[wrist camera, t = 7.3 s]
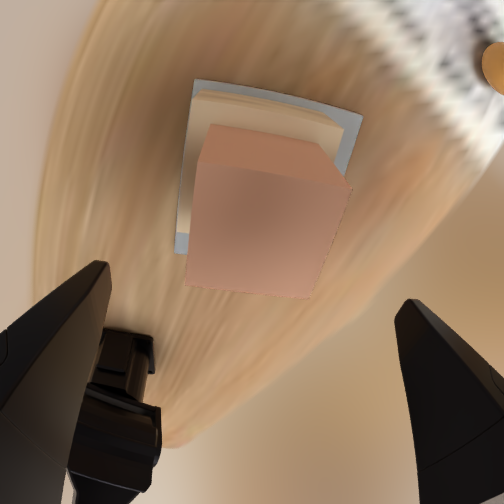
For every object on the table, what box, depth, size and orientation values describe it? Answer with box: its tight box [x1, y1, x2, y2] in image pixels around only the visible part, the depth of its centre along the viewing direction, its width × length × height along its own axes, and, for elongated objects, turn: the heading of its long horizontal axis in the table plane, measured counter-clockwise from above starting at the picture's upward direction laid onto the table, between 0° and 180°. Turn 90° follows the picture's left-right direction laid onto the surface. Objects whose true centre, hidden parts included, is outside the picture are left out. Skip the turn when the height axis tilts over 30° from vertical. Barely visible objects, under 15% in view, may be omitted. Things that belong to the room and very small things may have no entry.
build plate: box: [174, 79, 363, 255], centre depth 20 cm, size 12×10×1 cm
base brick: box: [177, 89, 344, 234], centre depth 17 cm, size 7×7×4 cm
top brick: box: [185, 124, 353, 299], centre depth 13 cm, size 5×5×5 cm
